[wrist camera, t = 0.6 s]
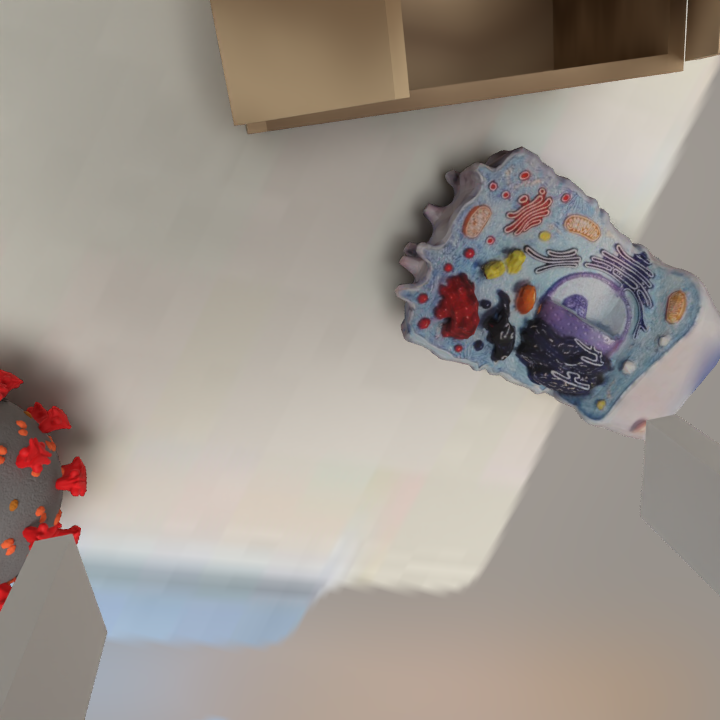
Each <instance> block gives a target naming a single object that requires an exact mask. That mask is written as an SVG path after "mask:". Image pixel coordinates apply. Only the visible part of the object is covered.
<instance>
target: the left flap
mask: <svg viewBox="0 0 720 720" xmlns="http://www.w3.org/2000/svg"><path fill="white" fill-rule="evenodd" d="M210 4H211V9H212V14H213V19H214V24H215V29H216V34H217V39H218V45H219V50H220V55H221V60H222V65H223V70H224V75H225V80H226V86H227V91H228V96H229V101H230V106H231V111H232V116H233V121H234V126H236V125H243V124H250V123H256V122H262V121H268V120H274V119H280V118H287V117H293V116H299V115H305V114H311V113H317V112H323V111H329V110H335V109H342V108H348V107H354V106H360V105H366V104H372V103H378V102H384V101H390V100H397V99H403V98H409V97H410V94H409V84H408V73H407V63H406V53H405V42H404V32H403V22H402V12H401V1H400V0H210Z"/></svg>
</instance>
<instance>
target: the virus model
mask: <svg viewBox="0 0 720 720" xmlns="http://www.w3.org/2000/svg"><path fill="white" fill-rule="evenodd" d="M22 383H23V381H22V380H20V379H19V378H18V377H17V376H15V375H13V374H12V373H9V372H6V371H4V370H0V611H1V609H2V607H3V605H4V603H5V601H6V599H7V597H8V595H9V593H10V591H11V589H12V587H11V586H10V583H13V582H15V580H16V578H17V576H18V574H19V572H20V570H21V568H22V566H23V564H24V562H25V560H26V558H27V556H28V554H29V552H30V550H31V548H32V545H33V543H34V541H38V540H43V539H48V538H53V537H58V536H63V535H68V534H73V537H74V540H75V542H76V545H77V543H78V540H79V536H80V532H81V528H80V527H78V526H76V525H74V526H72V527H71V528H69V529H64V530H63V529H59V528H61V527H62V524H60V523H59V520H60V517H61V513H62V512H61V510H60V507H61V502H62V493H63V490H68V491H70V492H71V494H72V495H73V496H78V495H79V494H80V496H84V494H85V492H86V491H87V490H86V488H87V487H86V484H87V482H86V479H87V477H86V475H87V474H86V469H85V466H84V464H83V462H82V461H81V459H80V457H79V456H78V457H75V458H74V460H73V462H72V463H70V464H67V465H62V466H60V461H59V458H58V455H57V452H56V445H55V444H54V443H53V441H52V438H51V436H48V435H47V434H46V433H49V432H51V431H54V430H59V429H66V428H67V429H70V428H71V425H70V423H69V421H68V419H67V415H66V414H64V412H63V410H62V409H61V410H60V409H59V408H57V407H56V406H52V408H51V409H49V410H48V412H47V410H45V409H44V408H43V406H42V405H41V404H40V403H38V402H35V404H34V407H28V408H27V410H26V412H25V411H24V410H23V409H21V408H20V407H18V406H17V405H15V404H13V403H12V402H10V401H8V400H7V399H5V398H4V397H6V395H7V394H8V392H9V391H10V390H12V389H13V388H18V387H19V386H20V384H22Z"/></svg>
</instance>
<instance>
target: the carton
mask: <svg viewBox="0 0 720 720" xmlns="http://www.w3.org/2000/svg"><path fill="white" fill-rule="evenodd" d="M400 1H401V12H402V22H403V32H404V42H405V53H406V63H407V73H408V84H409V94H410V97H409V98H403V99H397V100H390V101H384V102H378V103H372V104H366V105H360V106H354V107H348V108H342V109H335V110H329V111H323V112H317V113H311V114H305V115H299V116H293V117H287V118H280V119H274V120H268V121H262V122H256V123H250V124H246V128H247V134H253V133H260V132H266V131H273V130H280V129H287V128H294V127H301V126H308V125H315V124H322V123H328V122H335V121H342V120H349V119H356V118H363V117H370V116H377V115H384V114H390V113H397V112H404V111H411V110H418V109H425V108H432V107H439V106H446V105H452V104H459V103H466V102H473V101H480V100H487V99H494V98H501V97H508V96H514V95H521V94H528V93H535V92H542V91H549V90H556V89H563V88H570V87H576V86H583V85H590V84H597V83H604V82H611V81H618V80H625V79H632V78H638V77H645V76H652V75H659V74H666V73H673V72H680V71H683V64H684V44H685V24H686V4H687V0H400Z"/></svg>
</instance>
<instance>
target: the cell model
mask: <svg viewBox="0 0 720 720" xmlns="http://www.w3.org/2000/svg"><path fill="white" fill-rule="evenodd" d="M445 178H446V180H447V182H448V183H449V184H450V185H451V186H452V187H453V189H454V194H455V197H454V199H453V201H452V203H450V204H449V205H447V206H444V207H439V206H436V205H433V204H430V203H429V204H428V205H427V206H426V208H425V209H424V210H423V215H424V216H425V217H426V218H427V219H428V220H429V221H430V222H431V224H432V226H433V234H432V236H431V238H430V240H429V241H428V242H426V243H425V242H421V243H419V244H417V243H411V242H408V244H407V245H406V246H405V248H404V253H405V254H407V255H406V256H402V257H401V259H400V261H399V264H400V265H402V266H403V267H405V268H406V269H407V270H408V271H409V272H411V273H412V274H413V276H414V278H415V279H414V282H413V283H412V284H400V285H399V286H398V287H397V288H396V289H395V293H396V296H397V297H398V298H400V299H402V300H404V301H406V302H405V319H404V320H403V322H402V324H401V330H402V333H403V336H404V339H405V340H407V341H408V342H412V343H415V344H418V345H420V346H423V347H425V348H427V349H428V350H430V351H431V352H432V353H433V354H435V355H436V356H437V357H438V358H440V359H443V360H449V361H454V362H458V363H462V364H466V365H470V367H471V368H472V369H473V370H475V371H481V370H482V369H486V370H487V372H488V373H489V374H490V375H500V376H502V377H503V378H504V379H505V380H507V381H509V382H511V383H513V384H516V385H519V386H523V387H526V388H529V389H530V390H531V391H532V392H534V393H535V394H541V393H548V394H549V395H551V396H553V397H554V398H555V399H556V400H558V401H559V402H561V403H563V404H565V405H568V406H570V407H573V408H574V409H575V410H576V412H577V413H578V415H579V416H580V418H581V419H583V420H584V421H585V422H587V423H588V424H590V425H593V426H598V427H603V428H605V429H607V430H610V431H612V432H615V433H618V434H621V435H624V436H627V437H632V438H635V439H640V440H645V432H646V420H650V419H655V418H660V417H665V416H670V415H674V414H675V413H676V412H677V411H678V410H679V409H680V408H681V406H682V405H683V404H684V403H685V401H686V400H687V398H688V397H689V396H690V395H691V394H692V393H693V392H694V391H695V390H696V388H697V387H698V386H699V385H700V384H701V382H702V381H703V380H704V379H705V378H706V376H707V375H708V374H709V373H710V371H711V370H712V369H713V368H714V367H715V365H716V364H717V362H718V361H719V359H720V313H719V311H718V310H717V309H716V307H715V305H714V303H713V301H712V299H711V297H710V294H709V292H708V290H707V289H706V287H705V285H704V284H703V282H702V281H701V280H700V279H699V278H698V277H697V276H695V275H694V274H692V273H690V272H688V271H686V270H683V269H679V268H674V267H672V266H669V265H667V264H665V263H663V262H662V261H661V260H660V259H659V258H657V257H655V256H653V255H652V254H651V253H650V251H649V250H648V249H647V248H646V247H645V246H643V245H641V244H634V243H631V241H630V239H629V238H628V237H626V236H625V235H623V234H622V233H620V232H619V231H618V230H617V229H615V227H614V226H613V225H612V223H611V222H610V217H609V214H608V213H607V212H606V211H605V210H604V209H600V208H599V205H598V202H597V200H596V199H594V198H591V197H589V196H586V195H585V194H584V192H583V191H582V190H581V189H580V188H579V187H578V186H576V185H575V184H574V183H573V182H572V181H571V180H569V179H568V178H565V177H561V176H558V175H556V174H555V172H554V170H553V169H552V168H551V167H549V166H547V165H546V164H544V163H543V162H542V161H541V160H540V158H539V157H538V155H536V154H534V153H532V152H530V151H529V150H527V149H525V148H523V147H519V148H517V149H514V150H512V151H506V150H503V151H499V152H498V153H496V154H494V155H492V156H491V157H490V158H489V159H488V161H487V162H486V164H483V163H482V162H480V163H473V164H472V165H470V166H468V167H466V168H465V169H464V170H463V171H462V172H461V174H460V173H459V172H457V171H455V170H453V169H452V170H451V171H449V172H447V173H446V175H445Z"/></svg>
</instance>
